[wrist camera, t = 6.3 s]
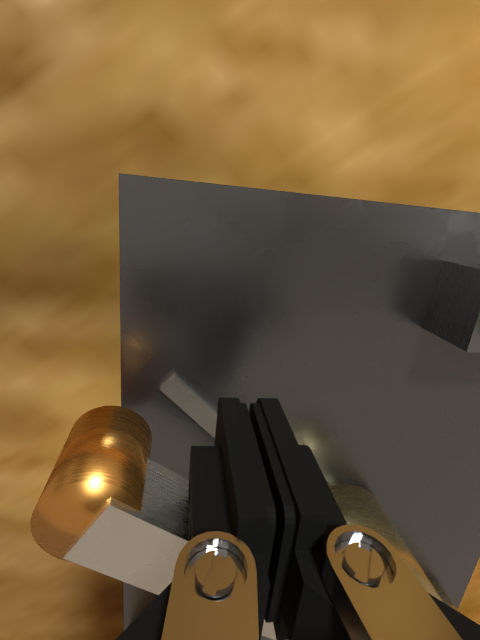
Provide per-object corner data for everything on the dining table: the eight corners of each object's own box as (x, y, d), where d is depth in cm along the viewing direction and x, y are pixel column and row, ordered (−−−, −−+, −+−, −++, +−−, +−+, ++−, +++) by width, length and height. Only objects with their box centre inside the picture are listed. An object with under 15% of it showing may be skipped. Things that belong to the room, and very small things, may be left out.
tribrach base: (563, 224, 15) (733, 236, 11) (428, 586, 22) (495, 690, 17) (128, 177, 12) (95, 164, 7) (129, 618, 19) (113, 757, 14)
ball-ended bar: (402, 513, 16) (489, 638, 12) (328, 581, 17) (384, 724, 13) (133, 336, 12) (103, 430, 7) (48, 442, 12) (-30, 590, 8)
